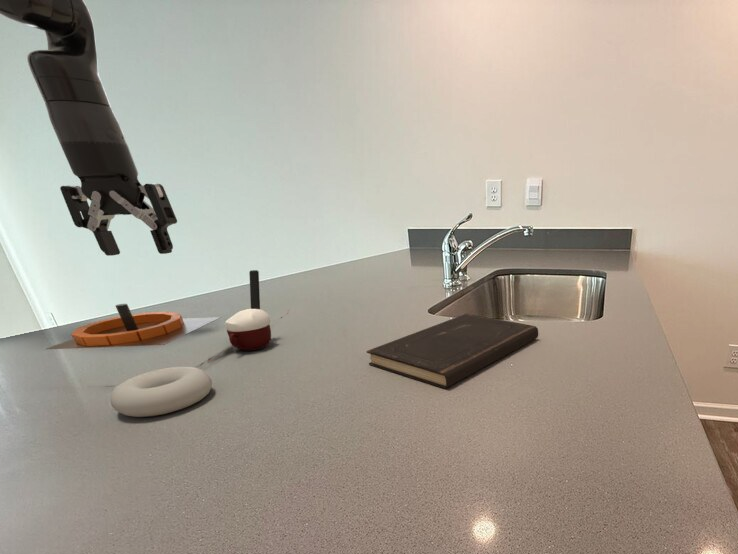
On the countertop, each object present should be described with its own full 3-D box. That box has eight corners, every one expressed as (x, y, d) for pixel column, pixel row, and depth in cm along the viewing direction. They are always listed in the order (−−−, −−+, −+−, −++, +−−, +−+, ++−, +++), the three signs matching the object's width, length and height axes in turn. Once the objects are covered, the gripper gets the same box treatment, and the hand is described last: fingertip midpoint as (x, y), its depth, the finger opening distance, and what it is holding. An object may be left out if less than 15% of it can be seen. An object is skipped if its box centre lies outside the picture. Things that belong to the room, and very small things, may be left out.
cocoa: (241, 359, 65) (215, 283, 59) (218, 353, 67) (192, 279, 62) (294, 340, 72) (275, 271, 67) (271, 335, 75) (252, 269, 70)
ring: (51, 347, 67) (46, 338, 66) (124, 321, 80) (120, 313, 80) (144, 344, 68) (140, 335, 67) (200, 318, 81) (197, 310, 80)
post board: (49, 357, 67) (27, 319, 64) (126, 327, 82) (112, 295, 79) (167, 353, 68) (151, 315, 65) (223, 324, 82) (212, 292, 79)
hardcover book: (369, 365, 61) (366, 350, 60) (467, 325, 78) (466, 313, 77) (447, 390, 53) (446, 374, 52) (538, 339, 70) (538, 326, 69)
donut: (143, 391, 55) (97, 428, 46) (133, 368, 54) (83, 401, 45) (227, 381, 57) (197, 414, 48) (219, 359, 56) (187, 388, 47)
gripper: (161, 143, 64) (198, 249, 71) (68, 145, 64) (114, 252, 71) (122, 137, 58) (167, 256, 65) (18, 139, 57) (74, 259, 64)
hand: (139, 254), depth 68 cm, fingers open, 8 cm apart
